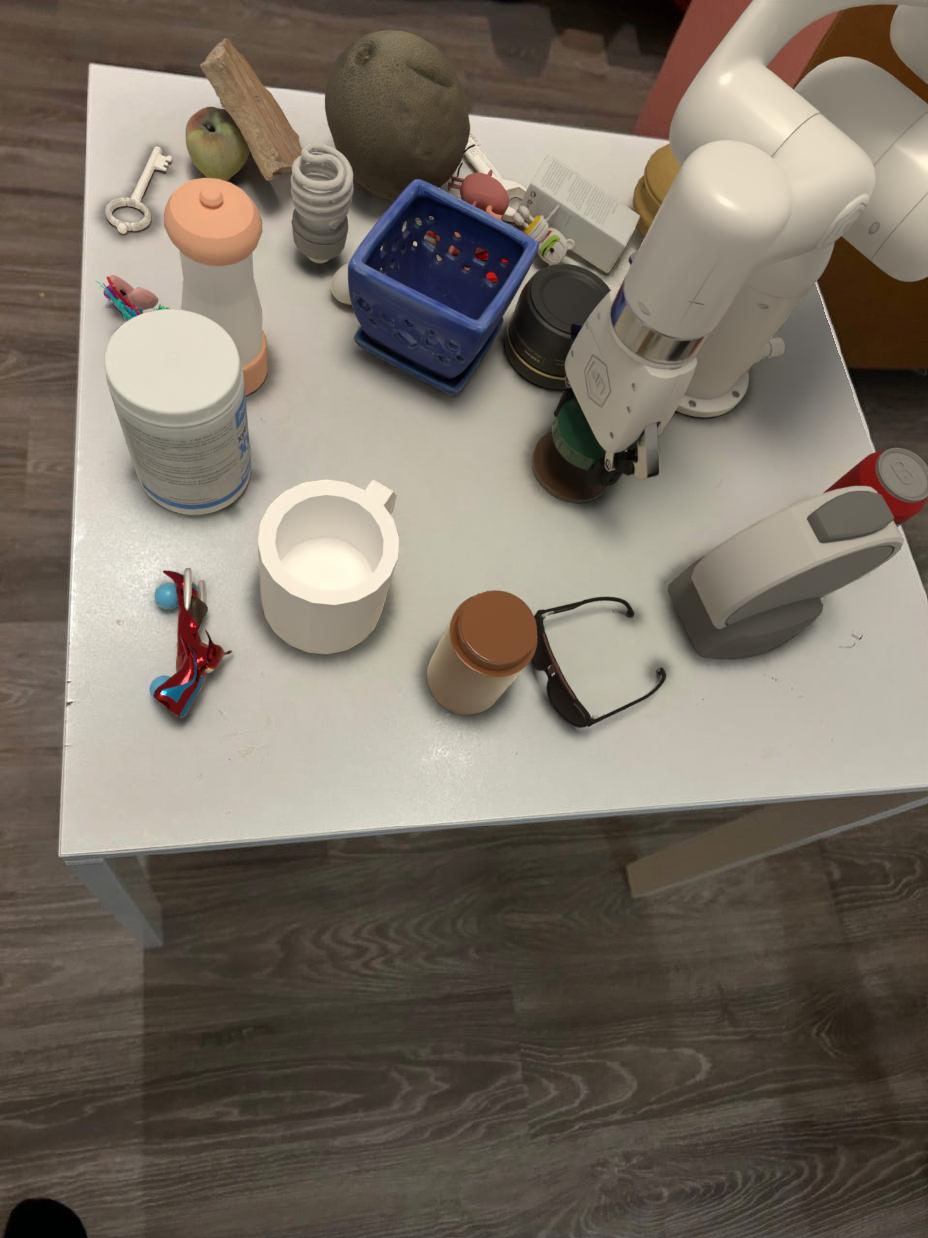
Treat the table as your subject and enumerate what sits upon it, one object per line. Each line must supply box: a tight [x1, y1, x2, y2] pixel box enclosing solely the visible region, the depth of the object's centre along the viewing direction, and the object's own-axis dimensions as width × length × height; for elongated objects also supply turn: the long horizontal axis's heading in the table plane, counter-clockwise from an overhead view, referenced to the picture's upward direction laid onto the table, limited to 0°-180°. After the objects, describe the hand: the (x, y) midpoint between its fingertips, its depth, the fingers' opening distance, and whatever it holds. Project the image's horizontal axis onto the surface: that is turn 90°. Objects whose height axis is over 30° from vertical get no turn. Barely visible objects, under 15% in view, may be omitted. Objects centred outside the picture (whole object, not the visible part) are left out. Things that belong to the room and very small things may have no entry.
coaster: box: [531, 431, 609, 504], centre depth 79 cm, size 8×8×1 cm
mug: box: [257, 479, 400, 655], centre depth 65 cm, size 14×10×11 cm
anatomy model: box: [94, 274, 170, 322], centre depth 72 cm, size 5×8×7 cm, turn 60°
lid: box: [551, 397, 627, 470], centre depth 74 cm, size 7×7×2 cm
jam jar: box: [426, 589, 537, 716], centre depth 64 cm, size 7×7×12 cm
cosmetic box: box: [515, 154, 640, 274], centre depth 88 cm, size 6×4×12 cm
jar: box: [504, 263, 612, 390], centre depth 81 cm, size 10×10×8 cm
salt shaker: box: [163, 177, 269, 396], centre depth 67 cm, size 7×7×19 cm
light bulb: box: [290, 142, 354, 264], centre depth 77 cm, size 6×6×12 cm
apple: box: [185, 106, 250, 182], centre depth 82 cm, size 6×8×6 cm
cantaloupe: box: [324, 29, 471, 201], centre depth 82 cm, size 14×14×15 cm
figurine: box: [425, 170, 510, 255], centre depth 86 cm, size 12×3×7 cm
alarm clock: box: [667, 486, 905, 660], centre depth 69 cm, size 16×10×18 cm, turn 110°
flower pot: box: [348, 179, 539, 396], centre depth 76 cm, size 13×13×12 cm
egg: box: [330, 261, 382, 306], centre depth 80 cm, size 4×6×4 cm
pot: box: [632, 143, 681, 238], centre depth 90 cm, size 12×12×10 cm
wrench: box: [464, 130, 528, 223], centre depth 92 cm, size 25×5×2 cm, turn 33°
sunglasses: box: [530, 596, 667, 729], centre depth 70 cm, size 11×12×5 cm
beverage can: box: [821, 447, 928, 528], centre depth 77 cm, size 7×7×12 cm
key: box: [104, 146, 173, 235], centre depth 81 cm, size 12×1×4 cm
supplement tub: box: [103, 308, 252, 516], centre depth 65 cm, size 10×10×15 cm
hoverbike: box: [148, 567, 233, 719], centre depth 63 cm, size 5×12×6 cm
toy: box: [456, 144, 575, 267], centre depth 85 cm, size 7×3×15 cm
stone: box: [199, 37, 307, 182], centre depth 81 cm, size 13×12×3 cm
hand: (584, 446), depth 77 cm, fingers closed on lid, 6 cm apart
